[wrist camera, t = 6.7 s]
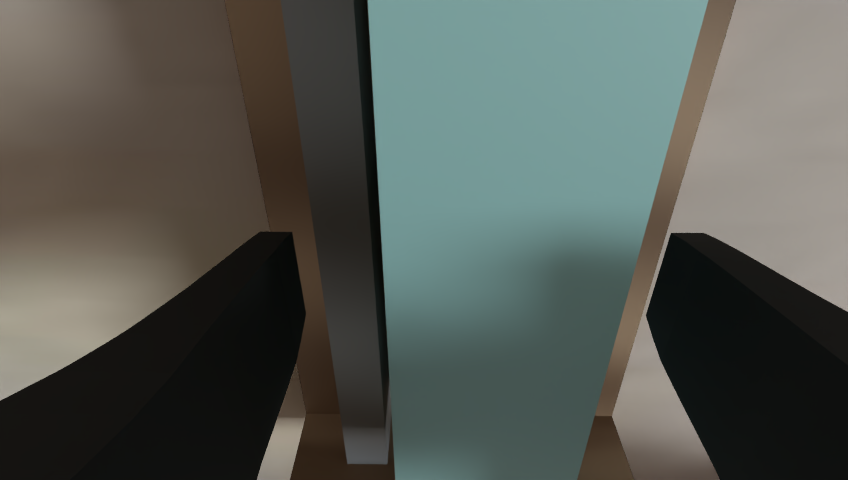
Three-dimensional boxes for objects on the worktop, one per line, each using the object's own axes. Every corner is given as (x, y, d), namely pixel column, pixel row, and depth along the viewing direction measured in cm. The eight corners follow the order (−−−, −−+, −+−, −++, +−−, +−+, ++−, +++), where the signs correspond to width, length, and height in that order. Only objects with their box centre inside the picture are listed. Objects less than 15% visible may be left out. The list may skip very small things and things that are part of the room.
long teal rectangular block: (508, 380, 16) (544, 600, 11) (411, 379, 16) (402, 598, 11) (565, -74, 9) (723, -54, 4) (401, -74, 9) (364, -52, 4)
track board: (594, 421, 18) (642, 573, 14) (318, 419, 19) (284, 568, 14) (808, -357, 8) (1219, -648, 4) (178, -348, 8) (-89, -619, 4)
